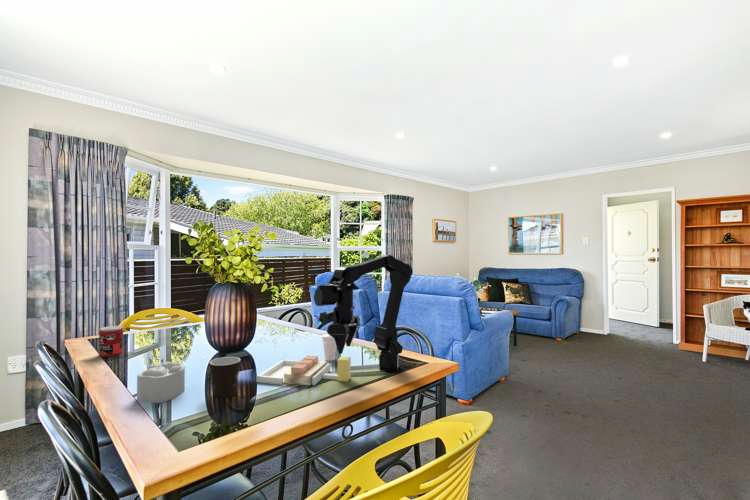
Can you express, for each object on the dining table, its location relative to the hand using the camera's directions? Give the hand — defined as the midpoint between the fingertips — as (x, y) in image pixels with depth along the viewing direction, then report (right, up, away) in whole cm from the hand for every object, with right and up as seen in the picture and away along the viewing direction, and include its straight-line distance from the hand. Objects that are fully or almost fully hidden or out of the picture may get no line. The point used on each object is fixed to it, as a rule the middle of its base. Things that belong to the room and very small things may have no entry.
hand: (344, 349), depth 123 cm
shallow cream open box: (-13, -10, +3) cm, 17 cm away
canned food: (-99, -10, +27) cm, 103 cm away
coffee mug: (-34, -10, -12) cm, 38 cm away
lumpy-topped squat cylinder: (-53, -10, -13) cm, 56 cm away
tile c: (-15, -7, -2) cm, 17 cm away
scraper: (-3, -10, +1) cm, 10 cm away
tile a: (-13, -7, +8) cm, 16 cm away
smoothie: (-8, -10, +22) cm, 25 cm away
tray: (-22, -10, +5) cm, 25 cm away
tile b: (-14, -7, +3) cm, 16 cm away
